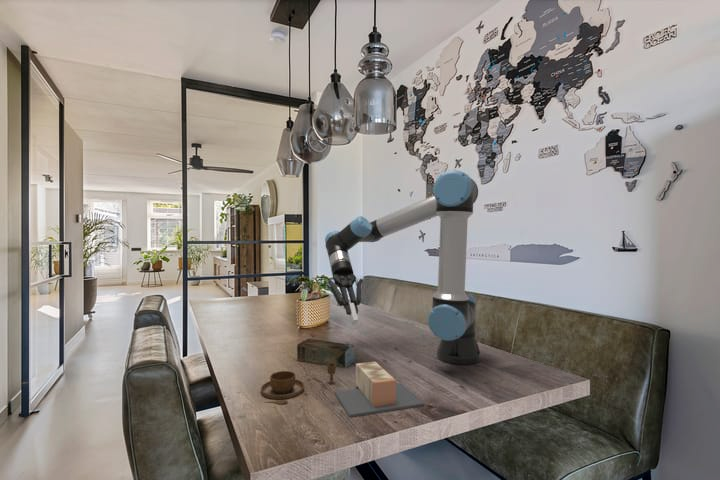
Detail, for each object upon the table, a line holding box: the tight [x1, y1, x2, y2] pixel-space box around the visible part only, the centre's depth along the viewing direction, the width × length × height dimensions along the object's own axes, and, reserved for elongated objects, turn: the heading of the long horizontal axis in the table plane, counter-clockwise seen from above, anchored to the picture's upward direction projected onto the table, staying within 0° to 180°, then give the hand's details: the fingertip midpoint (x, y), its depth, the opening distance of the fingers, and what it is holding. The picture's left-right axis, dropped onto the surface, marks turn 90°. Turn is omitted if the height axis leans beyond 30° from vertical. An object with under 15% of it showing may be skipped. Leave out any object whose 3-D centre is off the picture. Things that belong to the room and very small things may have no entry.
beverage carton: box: [296, 338, 355, 369], centre depth 128 cm, size 8×19×7 cm, turn 67°
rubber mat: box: [334, 382, 425, 418], centre depth 97 cm, size 20×14×1 cm
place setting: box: [260, 363, 337, 405], centre depth 102 cm, size 18×20×6 cm
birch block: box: [355, 361, 397, 407], centre depth 99 cm, size 6×6×15 cm
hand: (354, 322), depth 117 cm, fingers closed
